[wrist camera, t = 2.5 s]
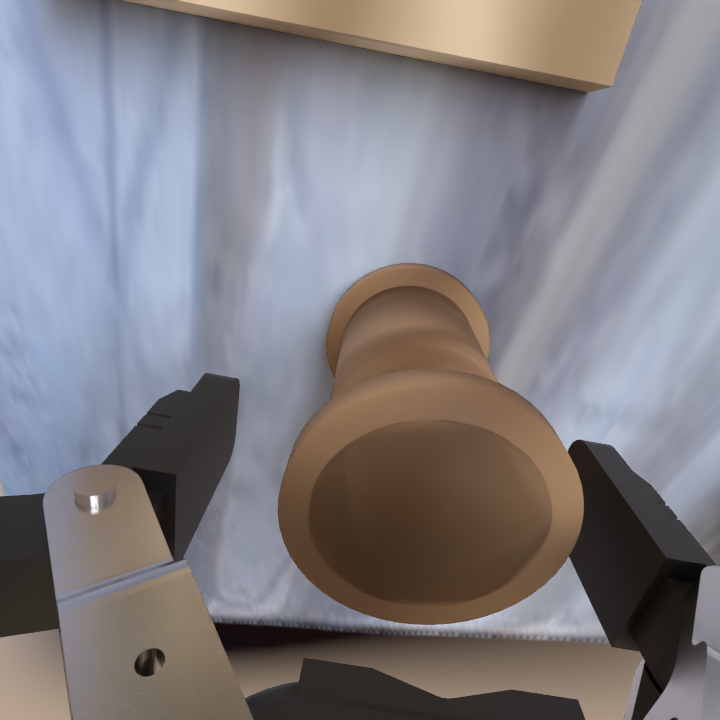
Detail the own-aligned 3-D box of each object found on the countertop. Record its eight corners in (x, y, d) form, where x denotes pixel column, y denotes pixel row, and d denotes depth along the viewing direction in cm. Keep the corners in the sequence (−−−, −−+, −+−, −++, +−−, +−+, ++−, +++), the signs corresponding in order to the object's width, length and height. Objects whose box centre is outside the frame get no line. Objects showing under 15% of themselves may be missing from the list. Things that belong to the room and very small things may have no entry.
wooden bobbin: (505, 279, 16) (636, 422, 8) (461, 418, 18) (526, 642, 10) (342, 249, 16) (295, 362, 7) (319, 394, 18) (265, 601, 10)
